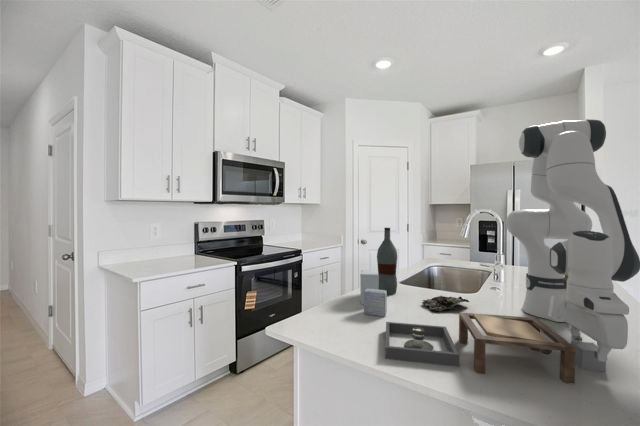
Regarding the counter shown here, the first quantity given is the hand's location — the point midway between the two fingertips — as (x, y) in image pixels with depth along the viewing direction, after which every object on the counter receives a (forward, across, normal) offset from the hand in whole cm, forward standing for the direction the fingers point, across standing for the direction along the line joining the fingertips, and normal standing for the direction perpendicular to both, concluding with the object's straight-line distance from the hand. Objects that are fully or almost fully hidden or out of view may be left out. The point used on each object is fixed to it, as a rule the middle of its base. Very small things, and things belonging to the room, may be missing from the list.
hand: (587, 350), depth 77 cm
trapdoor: (-1, +1, -18) cm, 18 cm away
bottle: (+3, -54, -50) cm, 74 cm away
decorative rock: (+4, -40, -28) cm, 49 cm away
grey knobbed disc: (+4, -1, -41) cm, 41 cm away
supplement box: (+4, -38, -57) cm, 69 cm away
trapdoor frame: (+4, 0, -18) cm, 19 cm away
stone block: (+4, -1, 0) cm, 4 cm away
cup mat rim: (+4, -1, -41) cm, 41 cm away
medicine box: (+4, -25, -54) cm, 60 cm away
